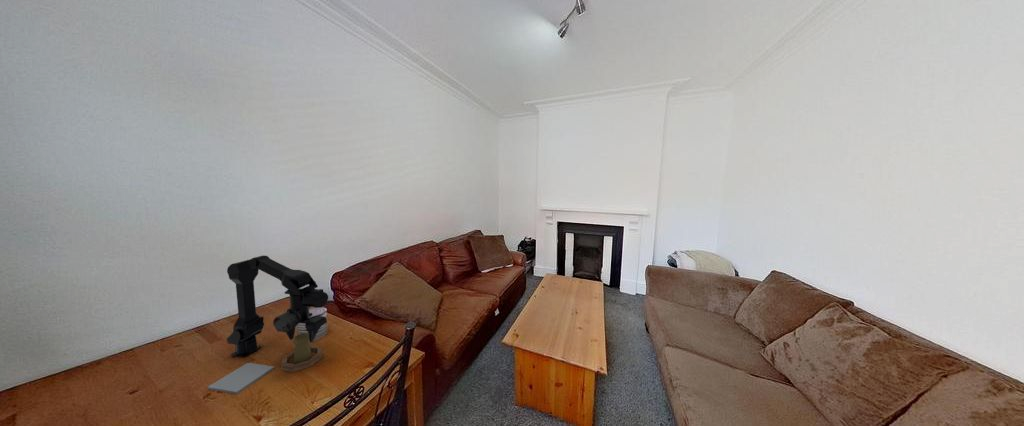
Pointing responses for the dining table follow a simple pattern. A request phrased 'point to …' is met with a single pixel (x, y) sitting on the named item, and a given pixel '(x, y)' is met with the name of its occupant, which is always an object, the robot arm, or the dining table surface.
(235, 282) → the robot arm
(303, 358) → the cork
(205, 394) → the dining table surface
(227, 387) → the slate mat
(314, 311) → the can
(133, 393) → the dining table surface
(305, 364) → the walnut holder
